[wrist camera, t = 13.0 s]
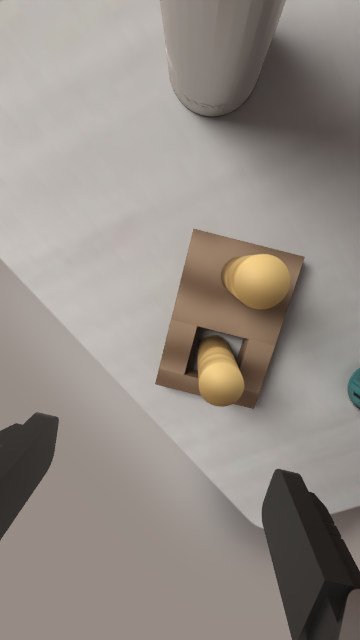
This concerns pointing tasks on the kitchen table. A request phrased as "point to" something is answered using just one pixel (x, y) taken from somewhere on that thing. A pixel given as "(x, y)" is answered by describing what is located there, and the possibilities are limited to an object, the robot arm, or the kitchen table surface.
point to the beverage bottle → (355, 388)
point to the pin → (218, 372)
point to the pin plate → (229, 307)
